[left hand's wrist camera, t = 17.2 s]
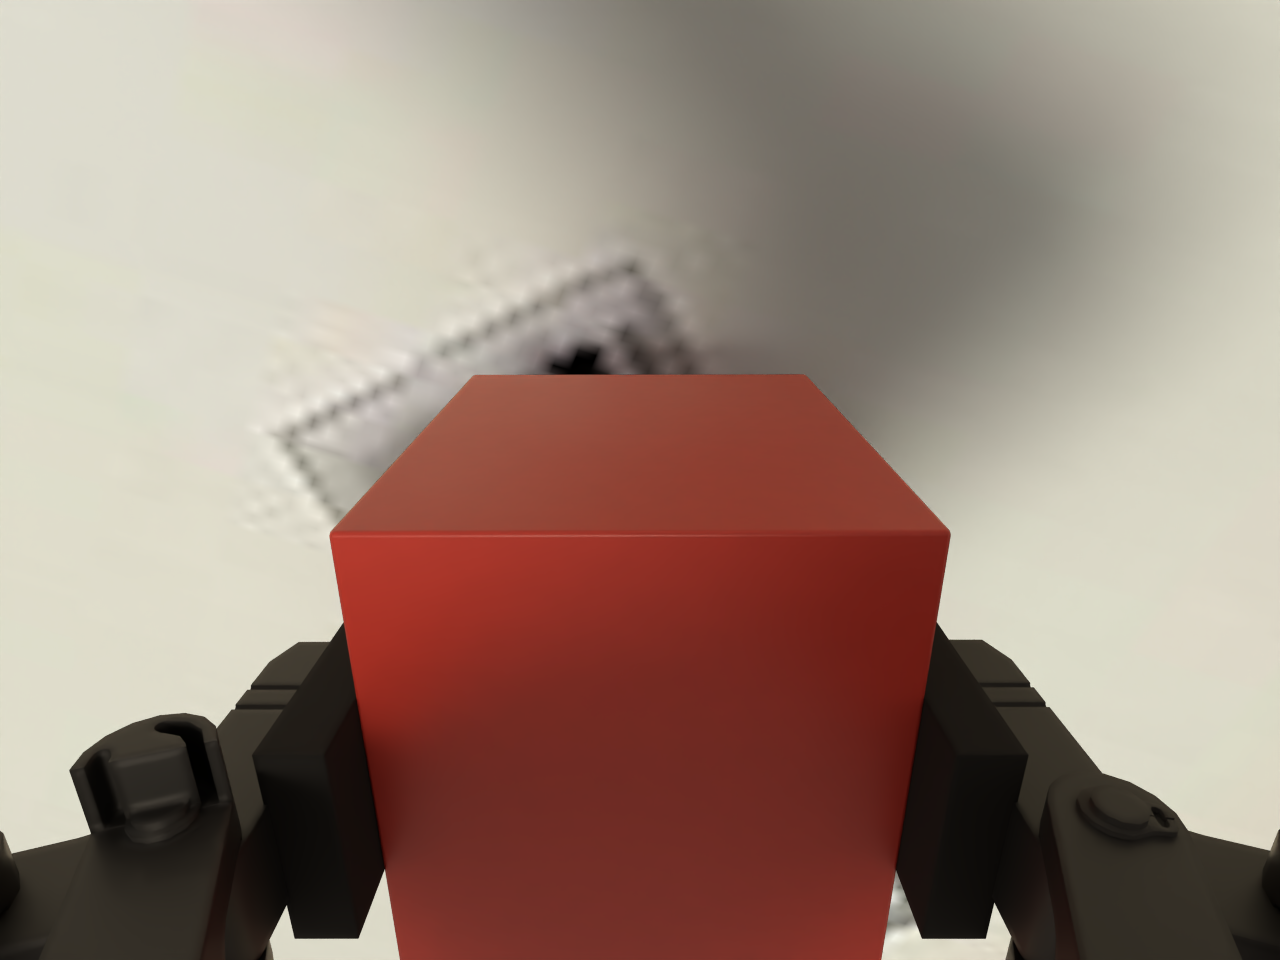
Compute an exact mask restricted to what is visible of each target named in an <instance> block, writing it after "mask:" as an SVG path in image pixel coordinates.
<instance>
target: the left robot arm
mask: <svg viewBox="0 0 1280 960" xmlns="http://www.w3.org/2000/svg"><path fill="white" fill-rule="evenodd" d="M69 771H70V774H71V777H72V780H73V783H74V786H75V788H76V791H77V794H78V797H79V800H80V803H81V806H82V809H83V812H84V814H85V817H86V820H87V823H88V826H89V829H90V832H91V834H90V835H87V836H84V837H80V838H77V839H72V840H68V841H64V842H60V843H55V844H51V845H47V846H43V847H38V848H34V849H30V850H25V851H21V852H17V853H13V854H11V851H10V849H9V846H8V844H7V841H6V839H5V836H4V834H3V833H2V832H1V831H0V960H274V959H273V952H272V948H271V944H270V940H269V939H270V937H271V935H272V933H273V931H274V929H275V927H276V925H277V923H278V921H279V919H280V917H281V915H282V913H283V911H284V909H285V907H286V905H287V908H288V912H289V916H290V920H291V925H292V929H293V933H294V938H295V939H358V938H359V936H360V933H361V930H362V928H363V925H364V923H365V920H366V917H367V915H368V912H369V909H370V907H371V904H372V901H373V899H374V896H375V893H376V891H377V888H378V885H379V883H380V880H381V878H382V875H383V872H384V870H385V866H384V860H383V854H382V848H381V842H380V836H379V830H378V824H377V818H376V812H375V806H374V800H373V794H372V788H371V782H370V776H369V770H368V764H367V758H366V752H365V746H364V740H363V734H362V728H361V722H360V716H359V710H358V704H357V698H356V692H355V686H354V680H353V674H352V668H351V662H350V656H349V650H348V644H347V638H346V632H345V626H344V623H343V624H342V626H341V627H340V628H339V630H338V631H337V633H336V634H335V636H334V637H333V639H332V640H331V641H330V642H298V643H297V644H295V645H294V646H292V647H291V648H289V649H288V650H286V651H285V652H283V653H282V654H281V655H279V656H278V657H276V658H275V659H273V660H272V661H270V662H269V663H268V664H267V666H266V667H265V668H264V669H263V671H262V672H261V673H260V675H259V676H258V677H257V678H256V680H255V681H254V682H253V683H252V685H251V689H250V690H247V691H246V692H245V693H244V695H243V696H242V697H241V699H240V700H239V701H238V702H237V704H236V708H235V710H231V711H230V712H229V714H228V715H227V716H226V717H225V719H224V720H223V721H222V722H221V724H220V725H219V726H218V728H217V729H216V726H215V725H214V724H213V723H211V722H210V721H209V720H208V719H207V718H205V717H203V716H198V715H193V714H187V713H180V714H169V715H159V716H156V717H152V718H149V719H145V720H142V721H138V722H135V723H132V724H130V725H128V726H126V727H124V728H121V729H119V730H117V731H115V732H113V733H111V734H109V735H107V736H105V737H104V738H102V739H101V740H100V741H98V742H97V743H96V744H94V745H93V746H92V747H90V748H89V749H87V750H86V751H85V752H83V754H82V755H81V756H80V757H79V759H78V760H77V761H76V762H75V764H74V765H73V766H72V768H71V769H70V770H69ZM896 871H897V874H898V876H899V879H900V882H901V884H902V887H903V890H904V892H905V895H906V898H907V900H908V903H909V905H910V908H911V911H912V913H913V916H914V919H915V921H916V924H917V927H918V929H919V932H920V935H921V937H922V939H986V936H987V931H988V927H989V923H990V918H991V914H992V910H993V906H994V903H995V905H996V907H997V909H998V911H999V913H1000V915H1001V917H1002V919H1003V921H1004V923H1005V925H1006V927H1007V929H1008V931H1009V933H1010V935H1011V940H1010V944H1009V948H1008V952H1007V956H1006V960H1280V830H1279V831H1278V833H1277V836H1276V838H1275V841H1274V843H1273V846H1272V848H1271V851H1269V850H1264V849H1260V848H1256V847H1252V846H1247V845H1243V844H1239V843H1234V842H1230V841H1226V840H1222V839H1217V838H1213V837H1209V836H1204V835H1201V834H1197V833H1194V832H1191V831H1188V830H1187V829H1186V827H1185V826H1184V824H1183V823H1182V821H1181V820H1180V818H1179V817H1178V815H1177V814H1176V813H1175V812H1174V811H1173V810H1172V809H1170V808H1169V807H1168V806H1167V805H1166V804H1164V803H1163V802H1162V801H1161V800H1160V799H1158V798H1157V797H1156V796H1155V795H1153V794H1151V793H1149V792H1147V791H1145V790H1144V789H1142V788H1140V787H1138V786H1136V785H1134V784H1132V783H1131V782H1128V781H1125V780H1122V779H1119V778H1116V777H1113V776H1109V775H1106V774H1103V773H1102V772H1101V771H1100V770H1099V769H1098V767H1097V766H1096V765H1095V764H1094V762H1093V761H1092V760H1091V759H1090V757H1089V756H1088V755H1087V754H1086V752H1085V751H1084V750H1083V749H1082V747H1081V746H1080V745H1079V744H1078V742H1077V741H1076V740H1075V739H1074V737H1073V736H1072V735H1071V734H1070V732H1069V731H1068V730H1067V729H1066V727H1065V726H1064V725H1063V723H1062V722H1061V721H1060V720H1059V718H1058V717H1057V716H1056V715H1055V713H1054V712H1053V711H1052V710H1051V708H1050V707H1046V705H1045V701H1044V700H1043V698H1042V697H1041V696H1040V695H1039V693H1038V692H1037V691H1036V690H1035V688H1034V687H1030V682H1029V681H1028V680H1027V678H1026V677H1025V676H1024V675H1023V673H1022V672H1021V671H1020V670H1019V668H1018V667H1017V666H1016V665H1015V663H1014V662H1013V661H1012V660H1011V659H1010V658H1008V657H1007V656H1005V655H1004V654H1002V653H1001V652H999V651H998V650H996V649H995V648H994V647H992V646H991V645H989V644H988V643H986V642H985V641H983V640H949V639H948V638H947V636H946V635H945V634H944V632H943V631H942V629H941V628H940V626H939V625H938V623H937V622H936V628H935V634H934V640H933V646H932V652H931V658H930V665H929V671H928V677H927V683H926V689H925V695H924V701H923V707H922V713H921V720H920V726H919V732H918V738H917V744H916V750H915V756H914V762H913V768H912V774H911V781H910V787H909V793H908V799H907V805H906V811H905V817H904V823H903V829H902V836H901V842H900V848H899V854H898V860H897V866H896Z"/></svg>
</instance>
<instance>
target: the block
mask: <svg viewBox="0 0 1280 960" xmlns="http://www.w3.org/2000/svg"><path fill="white" fill-rule="evenodd" d="M950 536H951V534H950V530H949V529H948V528H947V527H946V526H945V525H944V524H943V523H942V522H941V521H940V520H939V519H938V518H937V516H936V515H935V514H934V513H933V512H932V511H931V510H930V509H929V508H928V507H927V506H926V505H925V503H924V502H923V501H922V500H921V499H920V498H919V497H918V496H917V495H916V494H915V493H914V492H913V490H912V489H911V488H910V487H909V486H908V485H907V484H906V483H905V482H904V481H903V480H902V479H901V478H900V476H899V475H898V474H897V473H896V472H895V471H894V470H893V469H892V468H891V467H890V466H889V465H888V463H887V462H886V461H885V460H884V459H883V458H882V457H881V456H880V455H879V454H878V453H877V452H876V450H875V449H874V448H873V447H872V446H871V445H870V444H869V443H868V442H867V441H866V440H865V439H864V438H863V436H862V435H861V434H860V433H859V432H858V431H857V430H856V429H855V428H854V427H853V426H852V425H851V423H850V422H849V421H848V420H847V419H846V418H845V417H844V416H843V415H842V414H841V413H840V412H839V410H838V409H837V408H836V407H835V406H834V405H833V404H832V403H831V402H830V401H829V400H828V399H827V398H826V396H825V395H824V394H823V393H822V392H821V391H820V390H819V389H818V388H817V387H816V386H815V385H814V383H813V382H812V381H811V380H810V379H809V378H808V377H807V376H806V375H804V374H769V375H474V376H472V378H471V379H470V380H469V381H468V382H467V383H466V384H465V385H464V386H463V387H462V388H461V390H460V391H459V392H458V393H457V394H456V395H455V396H454V397H453V398H452V399H451V401H450V402H449V403H448V404H447V405H446V406H445V407H444V408H443V409H442V410H441V411H440V413H439V414H438V415H437V416H436V417H435V418H434V419H433V420H432V421H431V422H430V423H429V425H428V426H427V427H426V428H425V429H424V430H423V431H422V432H421V433H420V434H419V436H418V437H417V438H416V439H415V440H414V441H413V442H412V443H411V444H410V445H409V446H408V448H407V449H406V450H405V451H404V452H403V453H402V454H401V455H400V456H399V457H398V459H397V460H396V461H395V462H394V463H393V464H392V465H391V466H390V467H389V468H388V469H387V471H386V472H385V473H384V474H383V475H382V476H381V477H380V478H379V479H378V480H377V481H376V483H375V484H374V485H373V486H372V487H371V488H370V489H369V490H368V491H367V492H366V494H365V495H364V496H363V497H362V498H361V499H360V500H359V501H358V502H357V503H356V504H355V506H354V507H353V508H352V509H351V510H350V511H349V512H348V513H347V514H346V515H345V517H344V518H343V519H342V520H341V521H340V522H339V523H338V524H337V525H336V526H335V527H334V529H333V530H332V531H331V532H330V543H331V549H332V555H333V561H334V567H335V573H336V579H337V585H338V591H339V597H340V603H341V608H342V614H343V620H344V626H345V632H346V638H347V644H348V650H349V656H350V662H351V668H352V674H353V680H354V686H355V692H356V698H357V704H358V710H359V716H360V722H361V728H362V734H363V740H364V746H365V752H366V758H367V764H368V770H369V776H370V782H371V788H372V794H373V800H374V806H375V812H376V818H377V824H378V830H379V836H380V842H381V848H382V854H383V860H384V866H385V872H386V878H387V884H388V890H389V896H390V902H391V908H392V914H393V920H394V926H395V932H396V938H397V944H398V950H399V956H400V960H881V958H882V952H883V945H884V939H885V933H886V927H887V921H888V915H889V909H890V903H891V897H892V890H893V884H894V878H895V872H896V866H897V860H898V854H899V848H900V842H901V836H902V829H903V823H904V817H905V811H906V805H907V799H908V793H909V787H910V781H911V774H912V768H913V762H914V756H915V750H916V744H917V738H918V732H919V726H920V720H921V713H922V707H923V701H924V695H925V689H926V683H927V677H928V671H929V665H930V658H931V652H932V646H933V640H934V634H935V628H936V622H937V616H938V610H939V604H940V597H941V591H942V585H943V579H944V573H945V567H946V561H947V555H948V549H949V542H950Z"/></svg>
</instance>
